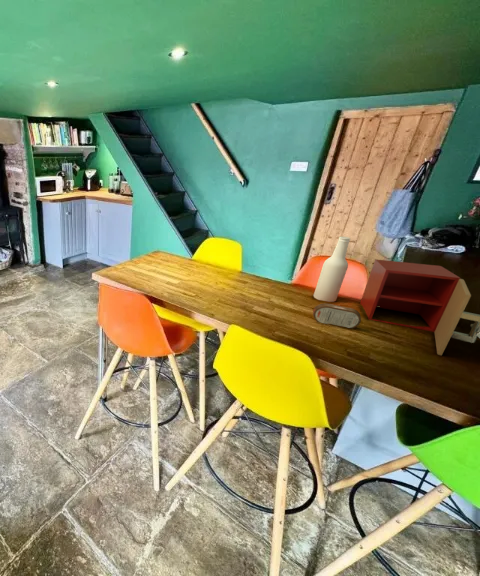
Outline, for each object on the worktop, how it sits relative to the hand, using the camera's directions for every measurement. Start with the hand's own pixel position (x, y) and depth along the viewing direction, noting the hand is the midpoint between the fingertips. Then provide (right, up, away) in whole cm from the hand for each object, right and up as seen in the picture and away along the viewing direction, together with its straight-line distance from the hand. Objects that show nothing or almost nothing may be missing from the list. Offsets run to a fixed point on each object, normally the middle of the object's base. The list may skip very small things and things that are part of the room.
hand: (474, 331), depth 95 cm
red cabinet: (+4, +1, +30) cm, 30 cm away
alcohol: (-11, +8, +48) cm, 50 cm away
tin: (-26, -1, +25) cm, 36 cm away
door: (+4, -7, +10) cm, 12 cm away
